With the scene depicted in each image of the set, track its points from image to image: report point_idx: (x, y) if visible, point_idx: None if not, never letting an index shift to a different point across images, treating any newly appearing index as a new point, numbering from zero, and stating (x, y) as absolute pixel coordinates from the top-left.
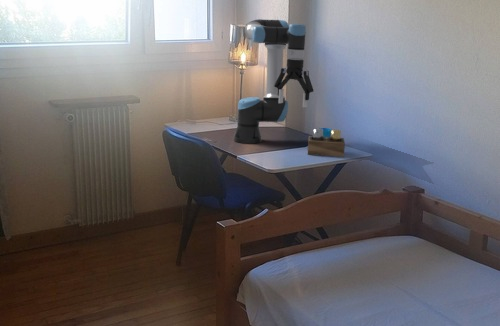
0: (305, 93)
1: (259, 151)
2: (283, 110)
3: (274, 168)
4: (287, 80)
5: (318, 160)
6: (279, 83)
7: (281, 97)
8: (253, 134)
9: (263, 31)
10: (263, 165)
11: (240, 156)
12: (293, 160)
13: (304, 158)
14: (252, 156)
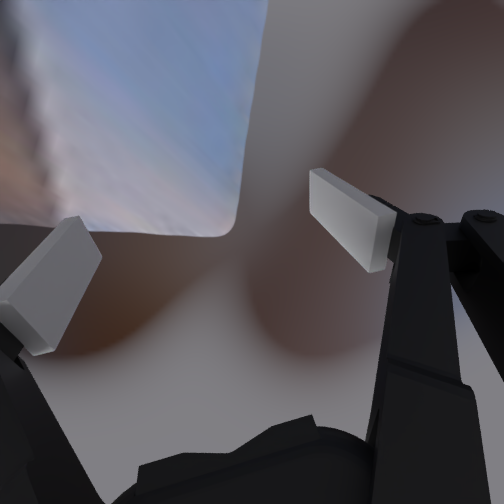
0: (385, 257)
1: (18, 127)
2: None
3: (229, 224)
4: (57, 455)
5: (241, 17)
6: None
7: (74, 266)
8: None
9: None
10: (193, 230)
11: None
12: (192, 113)
13: (190, 45)
14: (89, 198)
